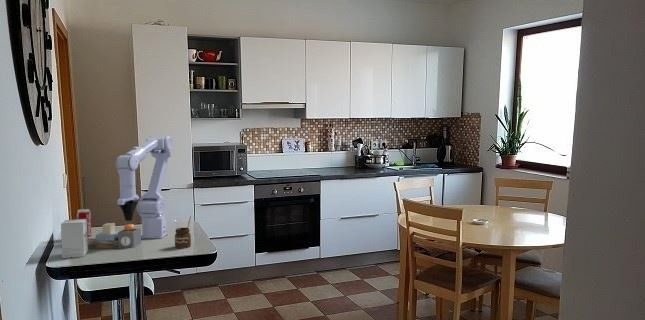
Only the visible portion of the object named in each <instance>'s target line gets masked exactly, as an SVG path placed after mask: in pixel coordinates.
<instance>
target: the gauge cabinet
mask: <svg viewBox="0 0 645 320" xmlns="http://www.w3.org/2000/svg"><path fill="white" fill-rule="evenodd" d="M118 231H119V232H118V248H119V249H121V248H122V249H123V248H125V249H126V248H129V249H130V248H133V249H134V248H136V247H137V246H139V245H141V243H142V238H141V236H142V229H141V228H139V227H138V228H135V227H134V231H124V228H123V229H121V230H118ZM118 248H117V249H118Z"/></svg>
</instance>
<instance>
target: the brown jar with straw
mask: <svg viewBox="0 0 645 320" xmlns="http://www.w3.org/2000/svg"><path fill="white" fill-rule="evenodd" d="M191 220H192V215H190V216H189V220H188V224H187V227H179V226H178V225H181V219H180V218H175V220H174V223H175V226H176V229H175V234H174V247H175V248H176V249H188V248H189V247H191V245H192V239H191V238H192V237H191V236H192V235H191V233H190V231H191V230H190V228H189V226H190V224H191ZM176 222H177V223H176Z"/></svg>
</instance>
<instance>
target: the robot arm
mask: <svg viewBox="0 0 645 320" xmlns="http://www.w3.org/2000/svg"><path fill="white" fill-rule="evenodd" d="M173 141H174V140H173V139H172V137H171V136H170V135H167V136H153V135H151V136H148V137H147V138H146V140H145V142H144V143H143V144H142V145H141V146H133V147H132V149H131V150H129V151H127V152H126V153H125V154H123V155H119V156H118V157H117V158H116V161H115V167H116V169H117V173H118V174H117V175H118V176H119V198H118V199H117V205H118V206H119V207H120V209H121V211H122V213H123V216H124V220H125V221H126V222H131V221H133V219H134V214H135V209H136V211H137V214H138V215H139V216H140V217H141V239H162V238H164V237H165V236H167V235H168V232H167V231H168V230H167V229H168V228H167V218H166V216H165V215H162V214H163V213H164V211H165V199H164V197H163V196H162V195H161V192H162V188H163V183H164V180H165V176H166V172H167V167H168V164H169V160H170V157H172V153H173V151H174V150H173V148H174V142H173ZM148 153H150V155H151V156H152V157H153V158H155V162H154V166H153V169H152V172H151V178H150V181H149V185H148V189H147V192H146V193H144V194H142V195H141V196H140V197H139V194H137V188H136V187H137V186H136V170H137V169H138V168H139V165H140V163H141V162H142V161H143V160H144V159H146V157H147V154H148ZM135 200H136V201H135ZM137 200H139V201H137Z"/></svg>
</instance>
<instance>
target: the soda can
mask: <svg viewBox="0 0 645 320" xmlns="http://www.w3.org/2000/svg"><path fill="white" fill-rule="evenodd" d="M91 213H92V212H91V210H90V209H89V208H85V209H84V208H82V209H78V210H77V212H76V219H87V232H88V238H92V220H91V219H92V216H91V215H92V214H91Z"/></svg>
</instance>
